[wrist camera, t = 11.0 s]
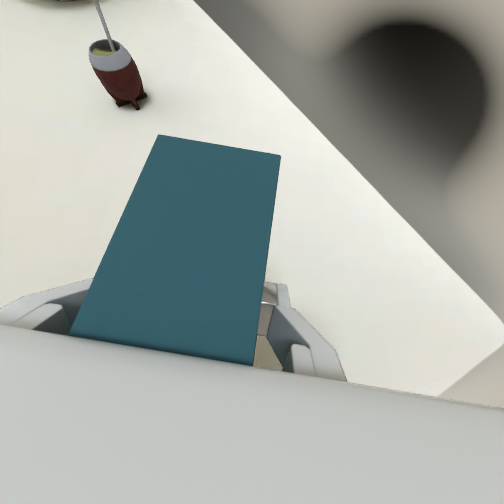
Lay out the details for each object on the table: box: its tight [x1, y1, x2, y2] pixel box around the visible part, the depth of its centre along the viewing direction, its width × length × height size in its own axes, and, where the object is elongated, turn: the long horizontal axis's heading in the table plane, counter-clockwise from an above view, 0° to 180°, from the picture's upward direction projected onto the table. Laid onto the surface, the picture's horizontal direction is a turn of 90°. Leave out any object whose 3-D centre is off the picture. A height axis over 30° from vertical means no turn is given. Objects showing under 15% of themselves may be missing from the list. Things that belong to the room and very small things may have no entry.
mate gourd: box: [89, 0, 147, 110], centre depth 31 cm, size 8×8×15 cm
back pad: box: [68, 135, 281, 366], centre depth 9 cm, size 10×4×9 cm, turn 171°
